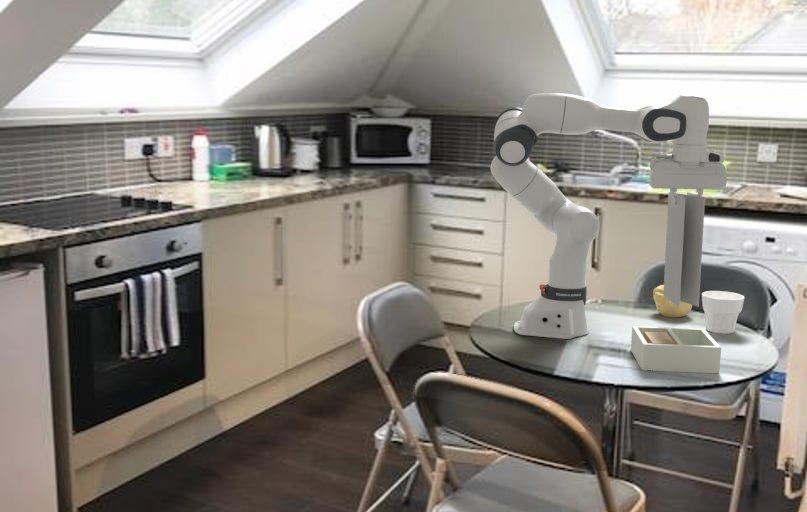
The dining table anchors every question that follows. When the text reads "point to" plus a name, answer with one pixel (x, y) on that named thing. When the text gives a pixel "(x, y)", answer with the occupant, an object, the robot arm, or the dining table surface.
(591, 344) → the dining table surface
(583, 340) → the dining table surface
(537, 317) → the robot arm
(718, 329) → the cup
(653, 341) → the offcut top
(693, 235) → the brochure
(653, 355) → the divided tray
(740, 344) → the dining table surface
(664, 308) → the yellow rounded lump
